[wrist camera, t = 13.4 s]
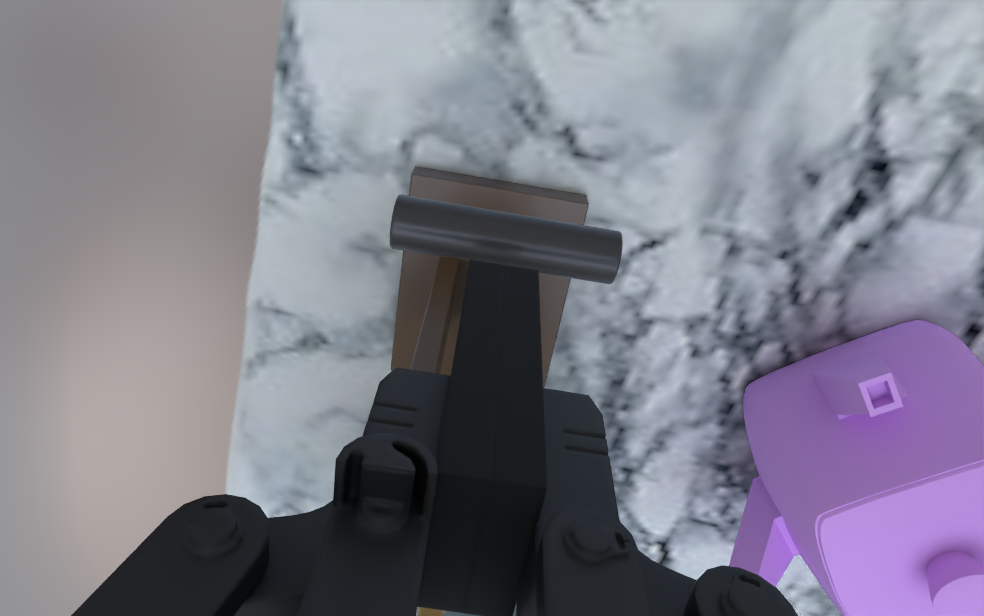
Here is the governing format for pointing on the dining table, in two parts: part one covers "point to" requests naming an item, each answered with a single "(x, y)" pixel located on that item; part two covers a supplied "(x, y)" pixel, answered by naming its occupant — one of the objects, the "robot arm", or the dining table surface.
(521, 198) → the switch bracket
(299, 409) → the dining table surface
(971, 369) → the teakettle
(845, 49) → the dining table surface
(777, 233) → the dining table surface
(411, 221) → the switch lever
